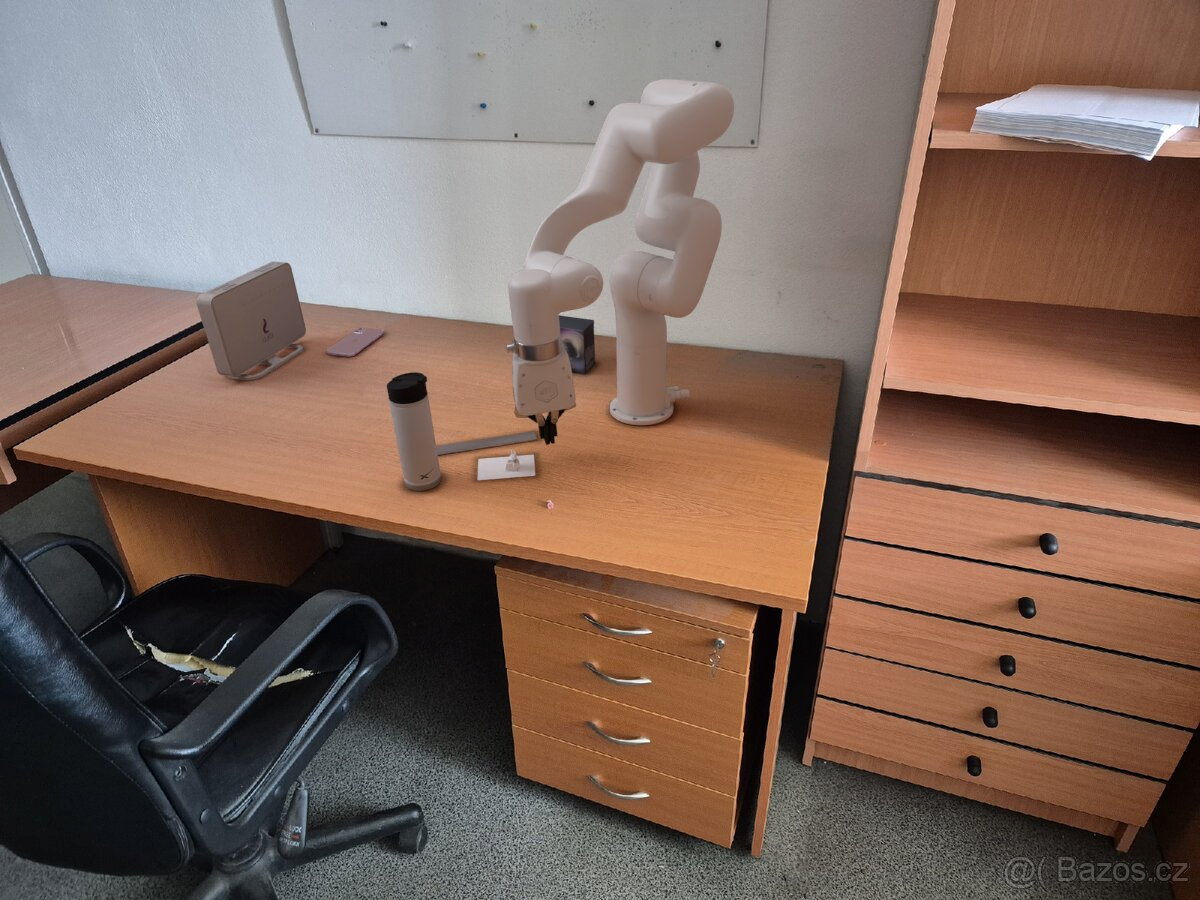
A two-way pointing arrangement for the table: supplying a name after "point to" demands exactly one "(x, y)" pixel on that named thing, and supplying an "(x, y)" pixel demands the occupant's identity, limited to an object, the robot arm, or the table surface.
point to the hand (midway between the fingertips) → (548, 440)
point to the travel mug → (414, 431)
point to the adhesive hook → (506, 467)
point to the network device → (253, 320)
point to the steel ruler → (486, 443)
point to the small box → (578, 342)
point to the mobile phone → (355, 342)
